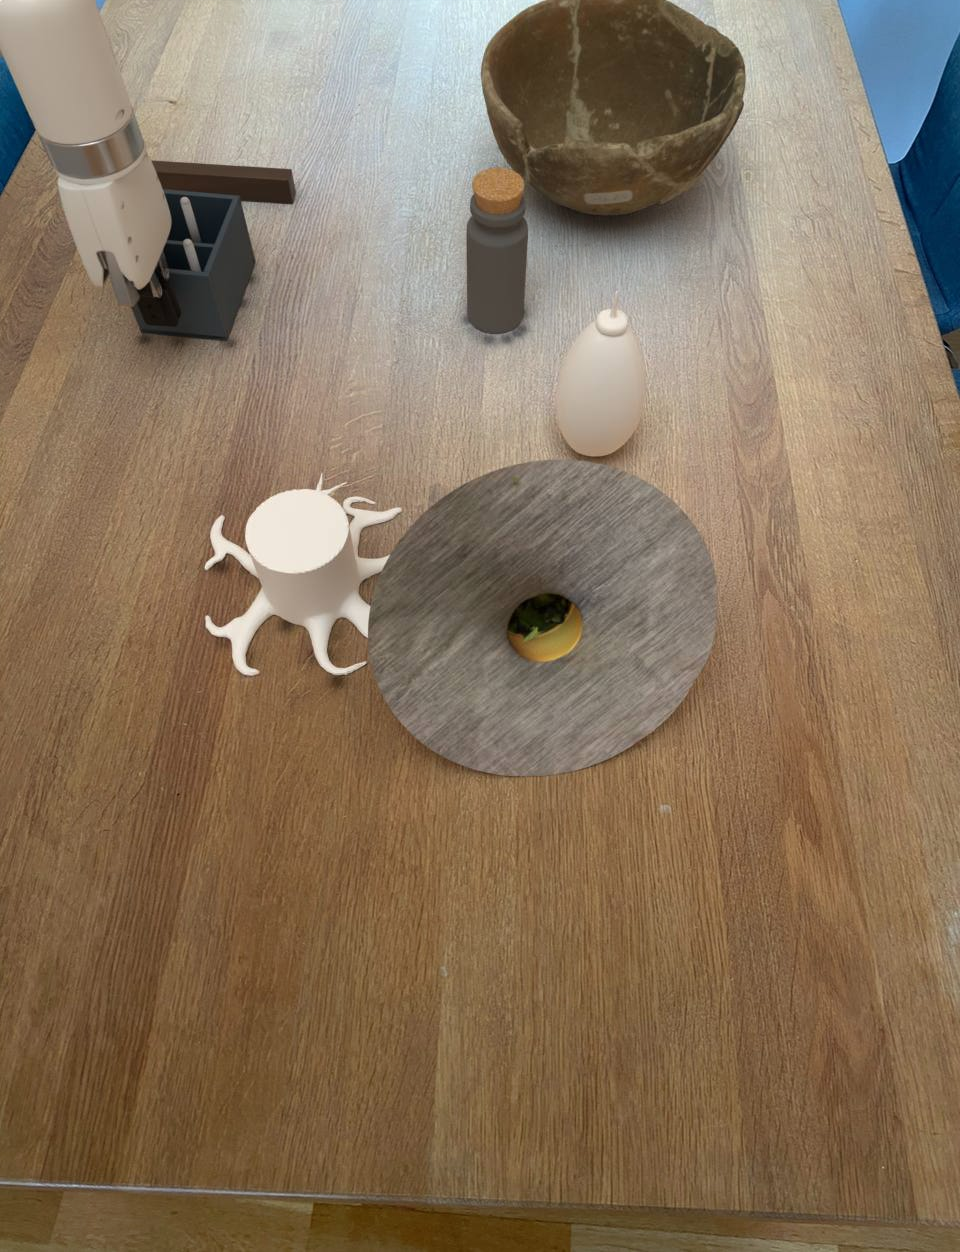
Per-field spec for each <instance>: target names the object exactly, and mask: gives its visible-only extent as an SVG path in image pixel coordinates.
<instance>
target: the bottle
mask: <svg viewBox="0 0 960 1252" xmlns="http://www.w3.org/2000/svg"><path fill="white" fill-rule="evenodd" d="M471 186H472V191H473V194H472V195H471V197H470V202H469V212H470V214H471V216H470V217H469V218H468V220H467V222H466V237H465V238H466V239H465V240H466V242H465V243H466V307H467V308H466V309H467V310H466V312H467V319H468V321H469V323H470V324H471V325H472V326H473V327H474V328H476V329H477V330H479V331H481V332H484V333H488V334H496V335H497V334H504V333H508V332H510V331H512V330H515V328H517V327H518V326H519V325H520V324H521V322H522V320H523V317H524V313H525V311H524V309H525V297H526V279H527V277H526V276H527V263H528V262H527V261H528V258H527V257H528V244H529V243H528V240H529V226H528V221H527V220H526V218H525V217H524V216H525V213H526V209H527V207H526V205H527V204H526V202H527V201H526V198H525V196H524V190H525V186H526V185H525V180H524V179H523V178H522V177H521V176H520V175H519V174H518V173H516V172H515V171H514V170H513V169H509V168H505V167H492V168H490V167H489V168H487V169H484V170H482V171H480V172H479V173H477V174H476V175H475V176H474V178H473V179H472V185H471Z"/></svg>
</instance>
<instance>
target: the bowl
mask: <svg viewBox="0 0 960 1252" xmlns="http://www.w3.org/2000/svg"><path fill="white" fill-rule="evenodd" d="M745 65H746V64H745V60H744V58H743V55H742V53H741V51H740V48H739V47H738V46H736V44H735V43H734V41H733V40H731V39H730V38H729V37H728V36H727V35H724V34H723V33H721V32H720V31H719V30H718V29H717V28H716V27H714V26H712V25H708V24H705V23H704V22H703V21H702V20H701V19H700V18H698V17H697V16H695V15H693V14H692V13H690V12H689V11H686V9H683V8H681V7H680V6H678V5H677V4H675V3H674V2H671V1H670V0H542V1H540V2H538V3H535V4H532V5H530V6H528V7H526V8H525V9H523V10H521V11H520V12H519V13H517V14H516V15H515V16H514V17H512V18H511V19H510V20H509V21H508V22H506V23H505V24H504V25H503V26H502V27H501V28H500V29H499V30H498V31H496V33H495V34H493V36H492V37H491V39H490V40H489V42H488V43H487V45H486V47H485V49H484V53H483V57H482V60H481V66H480V80H481V81H480V82H481V88H482V89H481V90H482V95H483V98H484V103H485V107H486V112H487V116H488V120H489V125H490V127H491V131H492V134H493V137H494V139H495V142H496V144H497V146H498V149H499V151H500V153H501V156H502V157H503V158H504V160H505V161H506V162H507V164H508V165H509V166H510V167H511V170H512V171H514V172H516V173H518V174H519V175H520V176H521V177H522V178H523V180H524V182H525V183H527V184H528V185H529V186H530V187H532V188H533V189H535V190H536V191H537V192H539V193H540V194H542V195H544V196H545V197H546V198H548V199H550V200H551V201H554V202H555V203H557V204H559V205H560V206H563V207H565V208H567V209H570V210H573V211H576V212H579V213H583V214H587V215H595V216H617V215H626V214H631V213H634V212H637V211H641V210H644V209H647V208H649V207H651V206H653V205H658V206H659V205H663V204H666V203H667V202H669V201H671V200H673V199H675V198H677V197H678V196H680V195H681V194H683V193H685V192H687V191H688V190H689V189H691V187H693V186H694V185H695V184H696V183H698V180H699V179H700V178H701V177H702V175H703V174H704V172H705V170H706V169H707V168H708V167H709V166H710V165H711V163H712V162H713V161H714V159H715V158H716V157H717V155H718V153H719V152H720V151H721V149H722V147H723V146H724V145H725V142H726V141H727V140H728V138H729V136H730V134H731V133H732V132H733V130H734V128H735V127H736V124H737V123H738V121H739V118H740V116H741V115H742V112H743V109H744V106H745V102H744V94H745V90H746V81H747V79H746V78H747V77H746V75H747V74H746V66H745Z"/></svg>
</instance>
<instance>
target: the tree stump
mask: <svg viewBox="0 0 960 1252" xmlns="http://www.w3.org/2000/svg"><path fill="white" fill-rule="evenodd" d="M323 474H324V473H323V472H321V474H320V478H319V481H318V482H317V486H316V489H310V488H301V489H300V488H299V489H296V488H293V489H291V490H285V491H284V492H283V491H281V492H279V493H276V494H274V495H272V496H270V497H269V498H267V499H265V500H264V501H263V502H261V503H260V505H259V506H257V507H256V508H255V510H254V511H253V512H252V513H251V515H250V516H249V518H248V519H247V522H246V525H245V532H244V533H245V534H244V539H245V544H246V547H247V550H248V551H246V550H245V549H244V548H243V547H241V546H239V545H238V544H236V543H234V542H232V541H231V540H228V539H226V538H225V537H224V536H223V532H222V529H223V527H224V521H225V519H226V516H225V515H223V514H220V515H219V516H218V517H217V518H216V520H215V521H214V522H213V525H212V527H211V529H210V534H209V537H210V543H211V546H212V548H213V551H214V556H212V557H211V558H210V559H208V560H207V561H206V562H205V564H204V570H205V571H208V570H210V568H212V567H213V566H214V565H215V564H217V563H219V562H222V561H223V560H224V558H225V557H226V555H231V556H233V558H234V559H236V560H237V561H238V562H239V563H240V564H241V566H243V568H244V569H245V570H246V571H248V572H249V573H250V574H251V575H252V576H254V577H256V579H258V581H259V583H260V585H261V588H260V589H259V592H258V594H257V595H256V597H255V599H254V600H253V602H252V604H251V605H250V606H249V608H248V609H247V610H246V611H245V613H244V614H243V615H241V616H237V617H235V618H234V619H232V620H230V621H229V622H228V623H227V624H226V625H223V626H217V625H216V624H215V623H214V622H213V620H212V618H211V616H210V615H205V617H204V620H205V628H206V630H207V631H208V632H209V633H210V634H211V635H212V636H214V637H217V638H227V639H229V640H230V643H231V654H232V655H231V658H232V660H233V661H232V662H233V664H234V667H235V669H236V670H237V671H238V672H239V673H241V674H242V675H244V676H248V677H253V676H256V675H257V676H258V675H259V674H260V672H261V671H260V670H259V669H256V668H252V667H249V666H248V663H247V656H246V654H247V652H248V649H249V647H250V644H251V642H252V640H253V638H254V636H255V635H256V632H257V631H258V630H259V629H260V627H261V626H262V624H263V623H264V622H265V621H266V620H267V619H269V618H270V617H272V616H277V617H280V618H281V619H282V620H284V621H286V622H288V623H291V624H293V625H297V626H301V627H303V628H305V630H307V632H308V634H309V637H310V641H311V646H312V650H313V655H314V657H315V660H316V661H317V662H318V664H319V666H320V667H321V668H323V669H324V670H325V671H326V672H327V673H330V674H332V675H333V676H343V675H344V676H348V674H351V673H353V672H354V671H357V670H358V669H360V668H362V667H363V666H365V665H366V664H367V663H368V661H366V660H364V661H362V662H358V663H355V664H353V665H351V666H348V667H347V666H346V667H337V666H336V665H334V664H333V663H332V662H331V660H330V658H329V654H328V647H329V640H330V635H331V633H332V630H333V629H332V628H333V626H334V624H335V623H336V621H337V620H339V619H342V618H343V619H347V620H348V621H349V622H351V623H352V624H353V625H354V626H355V628H356V629H357V630H358V631H359V632H360V633H361V635H362V636H364V637H365V638H367V639H368V620H369V612H370V606H371V604H368V603H367V602H365V600H364V599H363V598H362V597H361V595H360V586H361V584H362V582H363V581H364V580H367V579H370V578H371V577H372V576H375V575H377V574H381V572H382V569H383V567H384V565H385V563H386V561H387V560H388V558H389V556H390V554H388V555H386V556H383V557H378V558H367V557H361V556H359V545H360V536H361V533H362V530H363V529H365V528H367V527H370V526H374V525H378V524H382V523H385V522H388V521H391V520H393V519H394V518H395V517H396V516H397V515H398V514H401V513H402V512H403V510H404V509H403V508H402V507H401V506H398V507H393V508H391V509H388V510H385V511H384V510H383V511H376V510H375V511H374V510H369V509H361V508H354V507H352V506H351V505H352V504H353V503H357V502H359V503H362V502H365V503H367V504H370V505H376V504H377V503H376V502H375V501H373V500H371V499H369V498H365V497H363V496H356V495H355V496H350V497H347V498H345V499H344V500H343V503H342V505H341V504H340V503H339V502H338V501H337V500H336V499H334V498H333V497H331V496H330V495H331V494H333V493H334V492H336V491H338V490H339V489H341V488H342V487H343V486H344V485H346V484H347V483H348V481H345V482H342V483H340V484H338V485H337V484H336V485H335V486H333V487H332V488H329V489H322V485H323ZM348 515H350V516H352V517H354V518H353V519H351V521H350V523H349V519H348ZM248 552H249V553H248Z"/></svg>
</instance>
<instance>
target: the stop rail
mask: <svg viewBox="0 0 960 1252" xmlns="http://www.w3.org/2000/svg"><path fill="white" fill-rule="evenodd" d="M151 161H152V164H153V166H154V168H155V171H156V173H157V176H158V178H159V181H160V183H161V186H162V189H166V190H177V191H189V192H201V193H212V194H224V195H235V196H240V199H241V202H255V203H256V202H257V203H271V204H272V203H273V204H274V203H275V204H288V205H289V204H290V205H292V204H294V201H295V199H296V194H297V191H296V186H295V185H296V184H295V179H294V175H293V170H292V168H280V167H265V166H249V165H247V166H246V165H233V164H217V163H216V164H215V163H199V162H186V161H185V162H184V161H170V160H169V161H167V160H154V159H153V160H152V159H151Z"/></svg>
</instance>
